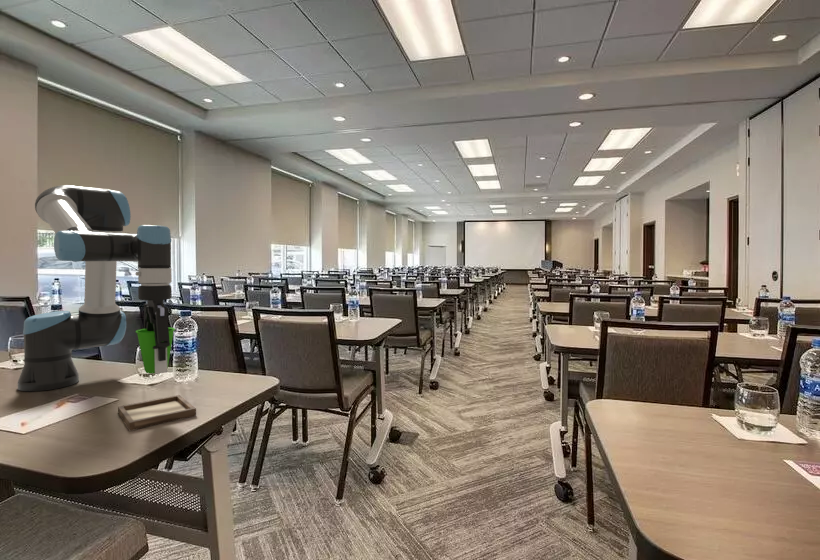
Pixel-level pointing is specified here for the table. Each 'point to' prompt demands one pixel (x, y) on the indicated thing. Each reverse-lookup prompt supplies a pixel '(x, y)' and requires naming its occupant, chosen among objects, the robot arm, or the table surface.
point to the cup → (151, 348)
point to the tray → (155, 412)
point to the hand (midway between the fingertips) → (156, 369)
